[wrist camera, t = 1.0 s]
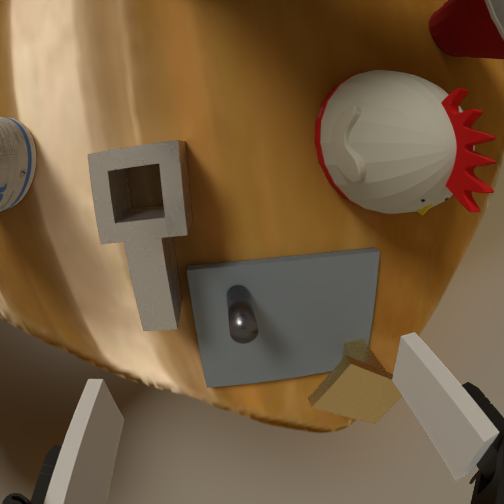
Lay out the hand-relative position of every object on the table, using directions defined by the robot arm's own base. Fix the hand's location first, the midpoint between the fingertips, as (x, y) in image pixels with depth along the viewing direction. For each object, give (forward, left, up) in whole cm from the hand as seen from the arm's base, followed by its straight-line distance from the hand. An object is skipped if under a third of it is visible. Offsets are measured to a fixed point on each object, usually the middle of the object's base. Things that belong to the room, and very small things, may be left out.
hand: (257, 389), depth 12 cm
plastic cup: (-24, +26, -19) cm, 40 cm away
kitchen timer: (-10, +15, -19) cm, 26 cm away
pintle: (+4, 0, -17) cm, 18 cm away
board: (+8, +5, -19) cm, 21 cm away
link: (-3, -7, -18) cm, 20 cm away
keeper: (+11, +10, -17) cm, 23 cm away
